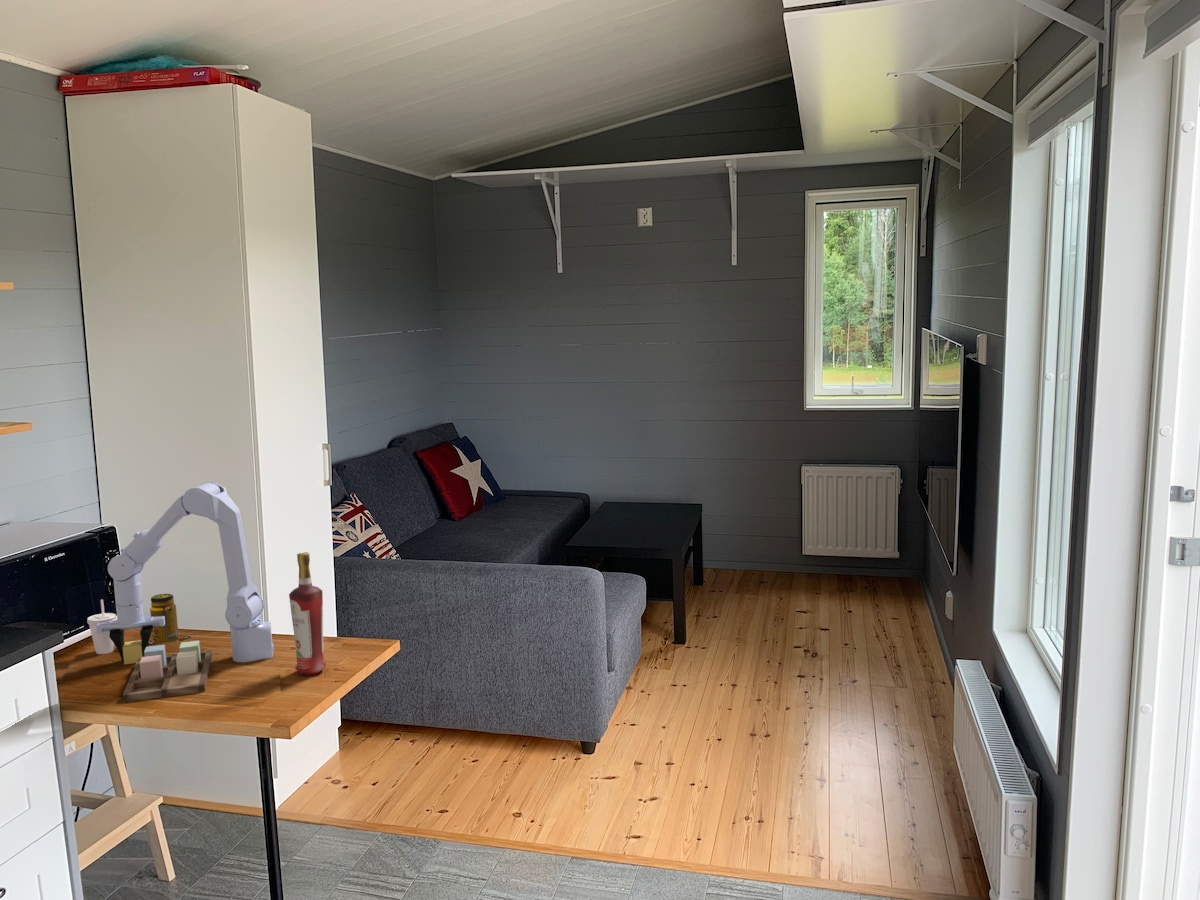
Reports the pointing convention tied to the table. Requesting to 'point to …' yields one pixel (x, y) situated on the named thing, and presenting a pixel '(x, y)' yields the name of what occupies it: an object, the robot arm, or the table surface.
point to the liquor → (307, 620)
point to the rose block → (151, 667)
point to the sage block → (191, 648)
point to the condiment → (167, 608)
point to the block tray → (168, 680)
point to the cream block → (187, 662)
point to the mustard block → (132, 651)
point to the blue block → (156, 652)
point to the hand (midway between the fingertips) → (134, 657)
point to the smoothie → (101, 639)
